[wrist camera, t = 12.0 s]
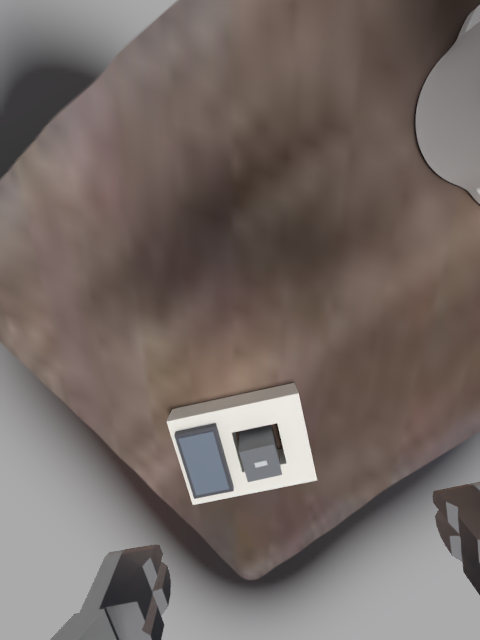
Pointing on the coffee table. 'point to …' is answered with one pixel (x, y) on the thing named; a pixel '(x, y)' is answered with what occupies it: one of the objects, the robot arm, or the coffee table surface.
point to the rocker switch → (259, 453)
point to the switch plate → (223, 448)
